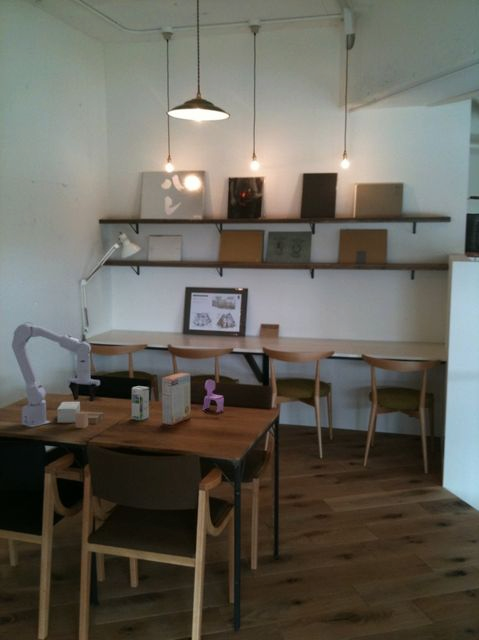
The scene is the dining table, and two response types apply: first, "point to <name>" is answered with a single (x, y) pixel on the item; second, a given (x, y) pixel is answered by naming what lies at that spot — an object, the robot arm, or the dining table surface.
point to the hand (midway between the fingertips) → (83, 400)
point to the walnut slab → (95, 417)
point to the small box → (68, 412)
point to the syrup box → (140, 403)
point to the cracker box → (175, 398)
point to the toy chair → (212, 396)
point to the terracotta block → (81, 419)
